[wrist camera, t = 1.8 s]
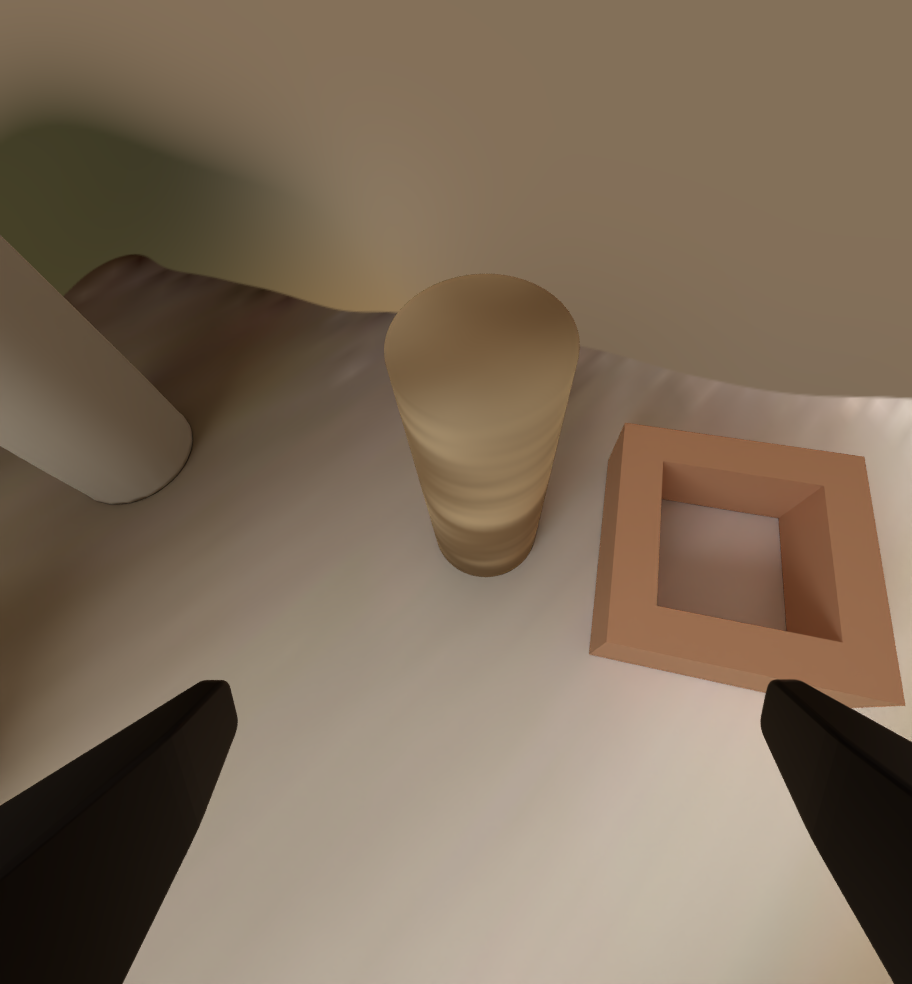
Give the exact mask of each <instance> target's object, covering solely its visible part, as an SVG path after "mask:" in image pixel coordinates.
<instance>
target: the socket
mask: <svg viewBox="0 0 912 984" xmlns="http://www.w3.org/2000/svg"><path fill="white" fill-rule="evenodd" d="M661 499H665V500H671V501H677V502H683V503H690V504H696V505H702V506H708V507H714V508H720V509H726V510H732V511H738V512H744V513H750V514H756V515H763V516H769V517H775V518H779V530H780V544H781V558H782V572H783V586H784V600H785V614H786V628H787V631H782V630H777V629H772V628H767V627H762V626H757V625H752V624H746V623H741V622H736V621H731V620H726V619H721V618H716V617H711V616H706V615H701V614H696V613H691V612H686V611H681V610H676V609H671V608H666V607H661V606H657V591H658V568H659V544H660V521H661ZM589 654H590V655H594V656H599V657H603V658H608V659H613V660H617V661H622V662H626V663H631V664H636V665H640V666H645V667H649V668H654V669H658V670H663V671H668V672H672V673H677V674H681V675H686V676H691V677H695V678H700V679H704V680H709V681H713V682H718V683H723V684H727V685H732V686H736V687H741V688H746V689H750V690H755V691H759V692H764V693H766V690H767V686H768V684H769V683H770V681H772V680H775V679H796V680H800V681H803V682H805V683H806V684H808V685H810V686H812V687H814V688H815V689H817V690H819V691H821V692H823V693H824V694H826V695H828V696H830V697H832V698H833V699H835V700H837V701H839V702H841V703H842V704H844V705H846V706H848V707H849V708H864V707H887V706H905V701H904V695H903V689H902V683H901V677H900V671H899V664H898V658H897V652H896V646H895V640H894V634H893V628H892V622H891V616H890V610H889V604H888V598H887V592H886V586H885V580H884V574H883V567H882V561H881V555H880V549H879V543H878V537H877V531H876V525H875V519H874V513H873V507H872V501H871V495H870V489H869V483H868V477H867V471H866V464H865V458H864V457H862V456H855V455H848V454H841V453H834V452H827V451H820V450H813V449H806V448H799V447H792V446H785V445H778V444H771V443H764V442H757V441H750V440H743V439H736V438H729V437H721V436H714V435H707V434H700V433H693V432H686V431H679V430H672V429H665V428H658V427H651V426H644V425H637V424H630V423H625V424H624V426H623V429H622V431H621V433H620V435H619V438H618V440H617V442H616V444H615V447H614V449H613V451H612V453H611V455H610V458H609V460H608V468H607V478H606V488H605V498H604V508H603V518H602V528H601V539H600V549H599V559H598V569H597V579H596V589H595V599H594V609H593V619H592V629H591V639H590V649H589Z"/></svg>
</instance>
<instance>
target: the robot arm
mask: <svg viewBox="0 0 912 984" xmlns="http://www.w3.org/2000/svg"><path fill="white" fill-rule="evenodd" d="M237 723H238V719H237V713H236V709H235V705H234V701H233V697H232V693H231V688H230V686H229V684H228V683H227V682H226V681H224V680H204V681H201V682H199V683H197V684H195V685H194V686H192V687H191V688H189V689H187V690H186V691H184V692H183V693H181V694H179V695H178V696H176V697H175V698H173V699H171V700H170V701H168V702H166V703H165V704H163V705H162V706H160V707H158V708H157V709H155V710H154V711H152V712H150V713H149V714H147V715H146V716H144V717H142V718H141V719H139V720H138V721H136V722H134V723H133V724H131V725H129V726H128V727H126V728H125V729H123V730H121V731H120V732H118V733H117V734H115V735H113V736H112V737H110V738H109V739H107V740H105V741H104V742H102V743H101V744H99V745H97V746H96V747H94V748H92V749H91V750H89V751H88V752H86V753H84V754H83V755H81V756H80V757H78V758H76V759H75V760H73V761H72V762H70V763H68V764H67V765H65V766H64V767H62V768H60V769H59V770H57V771H55V772H54V773H52V774H51V775H49V776H47V777H46V778H44V779H43V780H41V781H39V782H38V783H36V784H35V785H33V786H31V787H30V788H28V789H27V790H25V791H23V792H22V793H20V794H18V795H17V796H15V797H14V798H12V799H10V800H9V801H7V802H6V803H4V804H2V805H1V806H0V984H123V982H124V980H125V978H126V976H127V974H128V971H129V969H130V967H131V965H132V963H133V961H134V959H135V957H136V955H137V953H138V951H139V949H140V947H141V945H142V943H143V941H144V939H145V937H146V935H147V933H148V931H149V929H150V927H151V925H152V923H153V921H154V919H155V916H156V914H157V912H158V910H159V908H160V906H161V904H162V902H163V900H164V898H165V896H166V894H167V892H168V890H169V888H170V886H171V884H172V882H173V880H174V878H175V876H176V874H177V872H178V870H179V868H180V866H181V864H182V861H183V859H184V857H185V855H186V853H187V851H188V849H189V847H190V845H191V843H192V841H193V839H194V837H195V835H196V832H197V830H198V828H199V826H200V823H201V821H202V819H203V816H204V814H205V811H206V809H207V806H208V804H209V801H210V798H211V796H212V793H213V791H214V788H215V785H216V783H217V780H218V778H219V775H220V772H221V770H222V767H223V765H224V762H225V759H226V757H227V754H228V752H229V749H230V746H231V744H232V741H233V739H234V736H235V733H236V730H237ZM761 730H762V733H763V736H764V738H765V740H766V743H767V745H768V747H769V749H770V751H771V753H772V756H773V758H774V760H775V762H776V764H777V766H778V769H779V771H780V773H781V775H782V777H783V779H784V782H785V784H786V786H787V788H788V790H789V792H790V795H791V797H792V799H793V801H794V803H795V805H796V808H797V810H798V812H799V814H800V816H801V818H802V821H803V823H804V825H805V827H806V829H807V831H808V833H809V835H810V837H811V839H812V840H813V842H814V844H815V846H816V848H817V850H818V851H819V853H820V855H821V857H822V859H823V860H824V862H825V864H826V866H827V867H828V869H829V871H830V873H831V874H832V876H833V878H834V880H835V881H836V883H837V885H838V887H839V888H840V890H841V892H842V894H843V895H844V897H845V899H846V901H847V902H848V904H849V906H850V908H851V909H852V911H853V913H854V915H855V916H856V918H857V920H858V922H859V923H860V925H861V927H862V928H863V930H864V932H865V934H866V935H867V937H868V939H869V941H870V942H871V944H872V946H873V948H874V949H875V951H876V953H877V955H878V956H879V958H880V960H881V962H882V963H883V965H884V967H885V969H886V970H887V972H888V974H889V976H890V977H891V979H892V981H893V983H894V984H912V742H911V741H909V740H907V739H905V738H903V737H902V736H900V735H898V734H896V733H894V732H893V731H891V730H889V729H887V728H885V727H884V726H882V725H880V724H878V723H876V722H875V721H873V720H871V719H869V718H867V717H866V716H864V715H862V714H860V713H858V712H857V711H855V710H853V709H851V708H849V707H848V706H846V705H844V704H842V703H841V702H839V701H837V700H835V699H833V698H832V697H830V696H828V695H826V694H824V693H823V692H821V691H819V690H817V689H815V688H814V687H812V686H810V685H808V684H806V683H805V682H803V681H800V680H796V679H775V680H772V681H770V683H769V684H768V686H767V690H766V695H765V699H764V704H763V709H762V714H761Z"/></svg>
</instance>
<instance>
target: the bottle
mask: <svg viewBox="0 0 912 984" xmlns="http://www.w3.org/2000/svg"><path fill="white" fill-rule="evenodd" d="M192 438H193V437H192V430H191V427H190V425H189V423H188V422H187V420H186V419H185V417H184V416H183V415H182V414H181V413H180V412H178V411H177V410H176V409H175V408H174V407H173V405H172V404H171V403H170V402H169V401H168V400H167V399H166V398H165V397H164V396H163V395H162V394H161V393H160V392H159V391H158V390H157V389H156V388H155V387H154V386H153V385H152V384H151V383H150V382H149V381H148V380H147V379H146V378H145V377H144V376H143V375H142V374H141V373H140V372H139V371H138V370H137V369H136V368H135V367H134V366H133V365H132V364H131V363H130V362H129V361H128V360H127V359H126V358H125V357H124V356H123V355H122V354H121V353H120V352H119V351H118V350H117V349H116V348H115V347H114V346H113V345H112V344H111V343H110V342H109V341H108V340H107V339H106V338H104V337H103V336H102V335H101V334H100V333H99V332H98V331H97V330H96V329H95V328H94V327H93V326H92V325H91V324H90V323H89V322H88V321H87V320H86V319H85V318H84V317H83V316H82V315H81V314H80V313H79V312H78V311H77V310H76V309H75V308H74V307H73V306H72V305H71V304H70V303H69V302H68V301H67V300H66V299H65V298H64V297H63V296H62V295H61V294H60V293H59V292H58V291H57V290H55V288H54V287H53V286H52V285H51V284H50V283H49V282H47V281H46V280H45V279H44V278H43V277H42V276H41V275H40V274H39V273H38V272H37V271H36V270H35V269H34V268H33V267H32V266H31V265H30V264H29V263H28V262H27V261H26V260H25V259H24V258H23V257H22V256H21V255H20V254H19V253H18V252H17V251H16V250H15V249H14V248H13V247H12V246H11V245H10V244H9V243H8V242H7V241H6V240H5V239H4V238H3V237H2V236H1V235H0V446H1V447H3V448H5V449H7V450H8V451H10V452H12V453H13V454H15V455H17V456H19V457H20V458H22V459H24V460H26V461H27V462H29V463H31V464H32V465H34V466H36V467H38V468H39V469H41V470H43V471H44V472H46V473H48V474H50V475H52V476H53V477H55V478H57V479H59V480H61V481H62V482H64V483H66V484H68V485H70V486H71V487H73V488H75V489H77V490H79V491H80V492H82V493H84V494H86V495H88V496H89V497H91V498H92V499H94V500H96V501H99V502H102V503H107V504H116V505H118V504H127V503H132V502H136V501H139V500H142V499H145V498H147V497H148V496H150V495H153V494H155V493H156V492H158V491H159V490H161V489H163V488H164V487H165V486H166V485H167V484H168V483H170V482H171V481H172V480H173V479H174V478H175V477H176V476H177V475H178V473H179V472H180V470H181V469H182V468H183V467H184V465H185V463H186V462H187V460H188V457H189V454H190V452H191V448H192Z"/></svg>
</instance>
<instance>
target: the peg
mask: <svg viewBox="0 0 912 984" xmlns="http://www.w3.org/2000/svg"><path fill="white" fill-rule="evenodd" d="M579 349H580V344H579V335H578V330H577V327H576V324H575V322H574V320H573V318H572V316H571V314H570V313H569V311H568V310H567V309H566V307H565V306H564V305H563V304H562V303H561V302H560V301H559V300H558V299H557V298H556V297H555V296H553V295H552V294H551V293H549V292H548V291H546V290H545V289H543V288H541V287H539V286H537V285H536V284H533V283H531V282H528V281H526V280H523V279H519V278H516V277H511V276H506V275H498V274H472V275H465V276H459V277H455V278H451V279H448V280H445V281H442V282H439V283H437V284H435V285H433V286H431V287H429V288H427V289H425V290H423V291H422V292H420V293H419V294H417V295H416V296H414V297H413V298H412V299H411V300H409V301H408V302H407V303H406V304H405V305H404V306H403V307H402V308H401V309H400V311H399V312H398V313H397V315H396V316H395V317H394V319H393V321H392V323H391V325H390V327H389V329H388V332H387V335H386V340H385V346H384V356H385V363H386V367H387V370H388V374H389V377H390V381H391V384H392V387H393V391H394V394H395V398H396V401H397V405H398V408H399V412H400V415H401V418H402V422H403V425H404V429H405V432H406V436H407V439H408V443H409V446H410V449H411V453H412V456H413V460H414V463H415V467H416V470H417V474H418V477H419V480H420V484H421V487H422V491H423V494H424V498H425V501H426V505H427V508H428V511H429V515H430V518H431V522H432V525H433V529H434V532H435V536H436V539H437V542H438V545H439V548H440V550H441V552H442V554H443V555H444V557H445V558H446V559H447V560H448V561H449V562H450V563H451V564H452V565H453V566H454V567H456V568H457V569H459V570H460V571H462V572H464V573H467V574H470V575H473V576H479V577H493V576H498V575H501V574H504V573H507V572H509V571H511V570H513V569H514V568H516V567H517V566H518V565H519V564H521V563H522V562H523V561H524V559H525V558H526V557H527V556H528V554H529V553H530V551H531V548H532V546H533V543H534V540H535V535H536V531H537V527H538V523H539V519H540V515H541V511H542V506H543V502H544V498H545V494H546V490H547V486H548V482H549V477H550V473H551V469H552V465H553V461H554V457H555V453H556V448H557V444H558V440H559V436H560V432H561V428H562V424H563V419H564V415H565V411H566V407H567V403H568V399H569V395H570V390H571V386H572V382H573V378H574V374H575V370H576V366H577V361H578V357H579Z"/></svg>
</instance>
